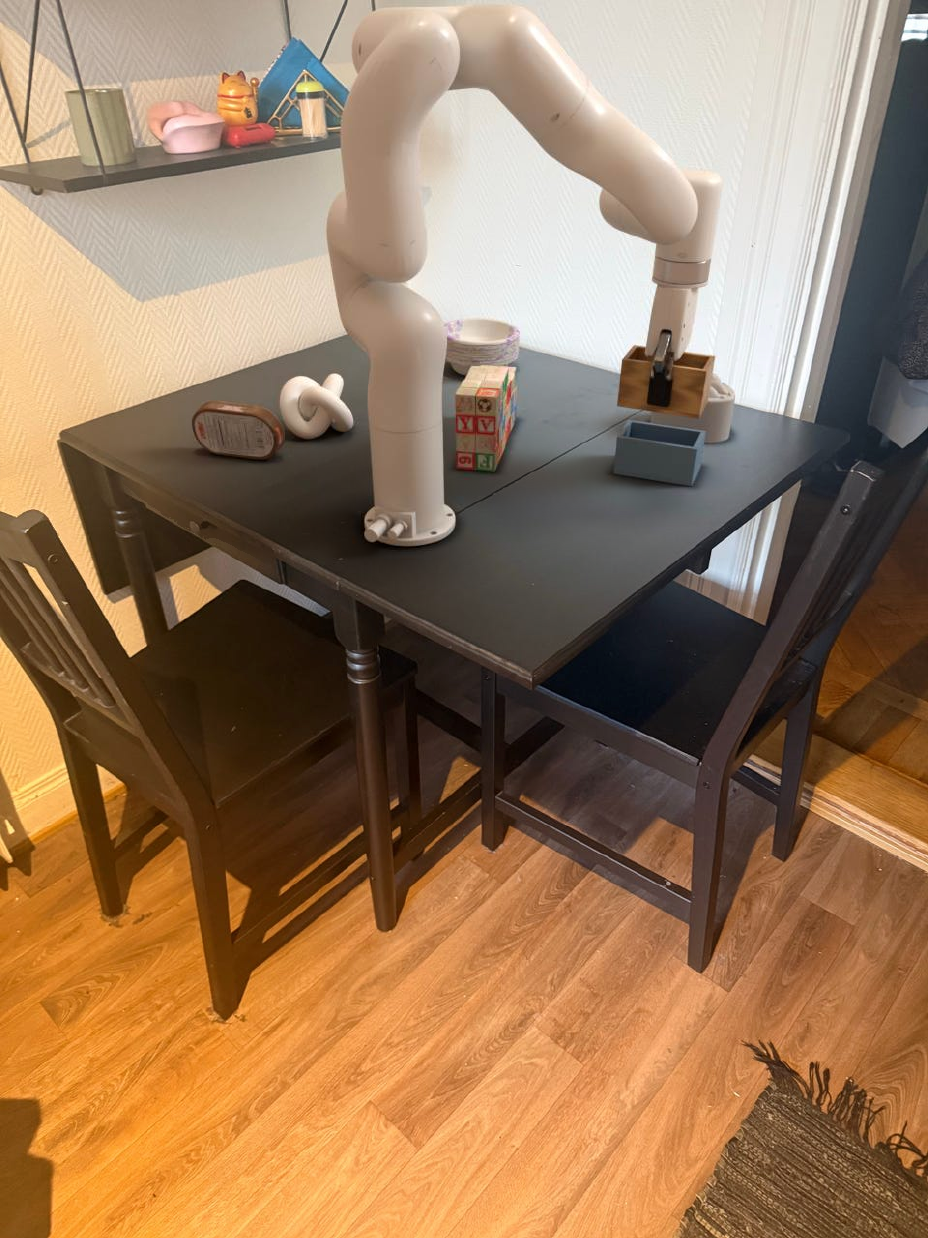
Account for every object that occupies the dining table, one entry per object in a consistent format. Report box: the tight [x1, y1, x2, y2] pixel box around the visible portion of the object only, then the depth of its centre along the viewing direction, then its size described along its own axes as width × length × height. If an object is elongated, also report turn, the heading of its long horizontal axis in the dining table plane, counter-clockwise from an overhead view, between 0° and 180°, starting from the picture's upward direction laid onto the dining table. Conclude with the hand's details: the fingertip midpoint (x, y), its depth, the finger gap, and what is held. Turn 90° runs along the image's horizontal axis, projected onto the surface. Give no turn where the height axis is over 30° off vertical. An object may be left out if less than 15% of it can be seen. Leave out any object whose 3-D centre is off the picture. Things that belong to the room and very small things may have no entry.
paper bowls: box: [444, 317, 521, 377], centre depth 178 cm, size 15×15×8 cm
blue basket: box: [612, 419, 706, 487], centre depth 141 cm, size 12×7×6 cm, turn 68°
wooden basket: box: [616, 344, 716, 419], centre depth 135 cm, size 12×7×7 cm, turn 68°
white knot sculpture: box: [279, 373, 354, 440], centre depth 154 cm, size 11×12×9 cm
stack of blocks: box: [454, 365, 518, 473], centre depth 148 cm, size 21×6×12 cm, turn 168°
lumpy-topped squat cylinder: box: [650, 372, 736, 444], centre depth 153 cm, size 10×13×9 cm
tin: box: [191, 400, 286, 461], centre depth 146 cm, size 15×3×8 cm, turn 74°
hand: (663, 395), depth 136 cm, fingers closed on wooden basket, 7 cm apart
